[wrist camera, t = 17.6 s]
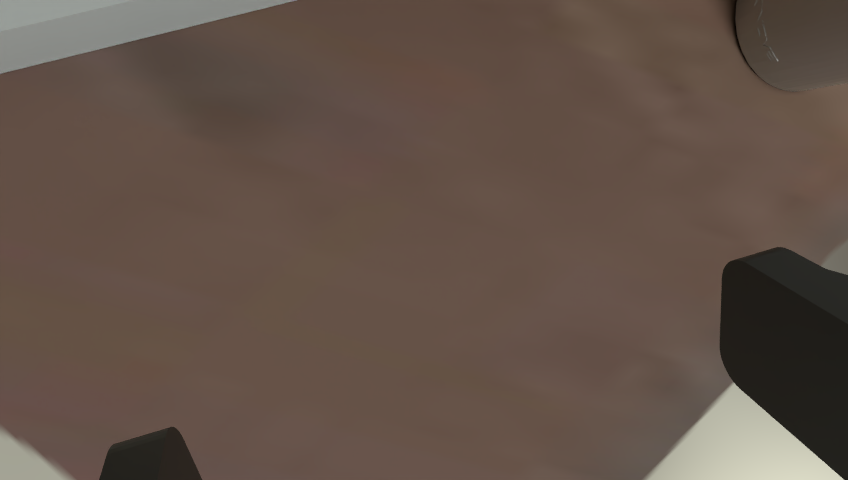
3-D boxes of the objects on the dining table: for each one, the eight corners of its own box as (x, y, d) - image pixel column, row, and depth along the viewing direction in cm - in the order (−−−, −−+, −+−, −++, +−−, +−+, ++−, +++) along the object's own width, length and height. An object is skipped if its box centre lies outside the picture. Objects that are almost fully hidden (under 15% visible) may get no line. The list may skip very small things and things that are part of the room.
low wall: (292, -24, 32) (299, -70, 27) (299, -1, 33) (308, -41, 27) (-68, 62, 29) (-151, 30, 23) (-58, 87, 29) (-137, 63, 23)
